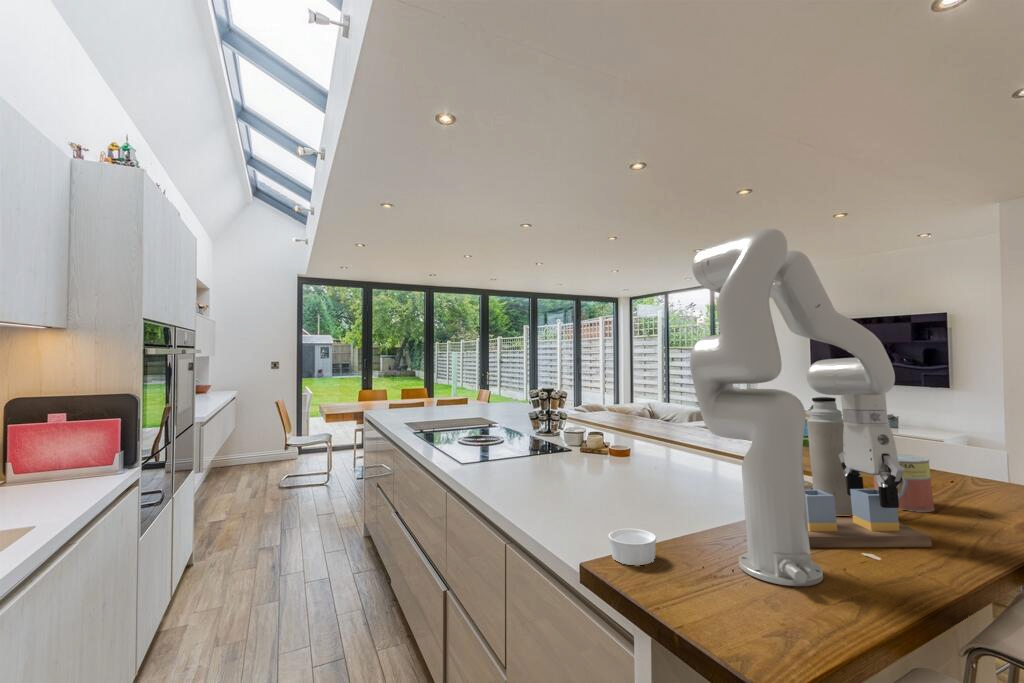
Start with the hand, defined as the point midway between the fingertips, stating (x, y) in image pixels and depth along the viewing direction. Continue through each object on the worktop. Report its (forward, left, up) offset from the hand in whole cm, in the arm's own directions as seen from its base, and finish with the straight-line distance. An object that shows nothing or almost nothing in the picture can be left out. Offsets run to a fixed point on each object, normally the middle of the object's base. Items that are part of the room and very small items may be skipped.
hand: (871, 501), depth 94 cm
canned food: (+22, -23, -8) cm, 33 cm away
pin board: (0, +5, -7) cm, 9 cm away
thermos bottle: (+17, -2, -7) cm, 19 cm away
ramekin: (-11, +51, -8) cm, 53 cm away
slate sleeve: (0, 0, -5) cm, 5 cm away
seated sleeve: (0, +11, -5) cm, 13 cm away
